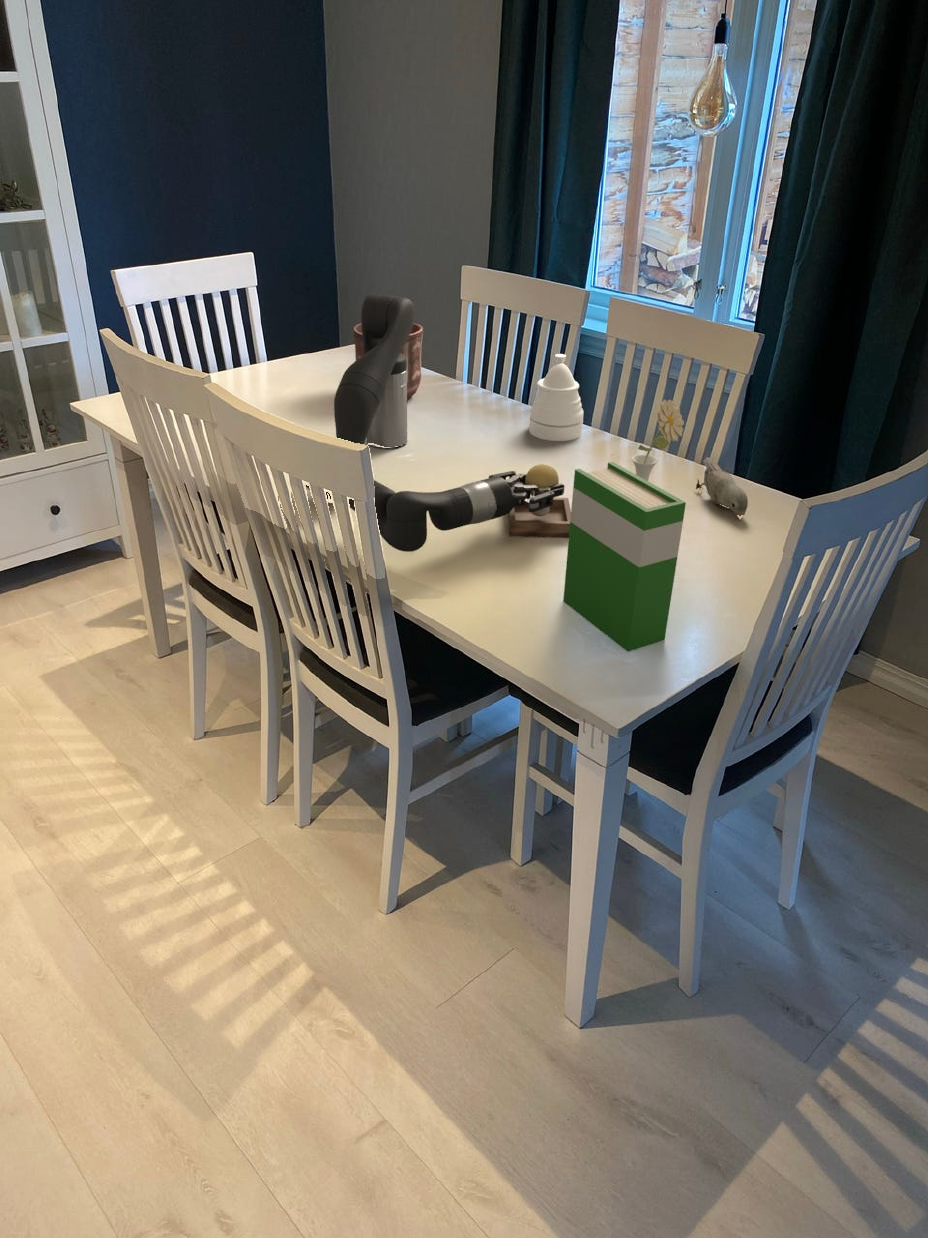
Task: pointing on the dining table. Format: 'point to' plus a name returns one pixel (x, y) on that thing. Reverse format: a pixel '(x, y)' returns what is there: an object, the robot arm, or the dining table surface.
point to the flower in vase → (660, 437)
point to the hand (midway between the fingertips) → (551, 482)
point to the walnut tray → (541, 521)
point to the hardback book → (622, 554)
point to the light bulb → (541, 481)
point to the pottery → (409, 351)
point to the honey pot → (557, 405)
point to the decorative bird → (723, 488)
